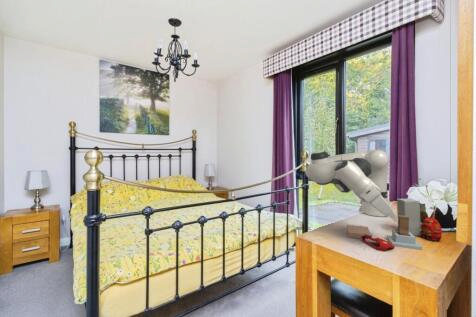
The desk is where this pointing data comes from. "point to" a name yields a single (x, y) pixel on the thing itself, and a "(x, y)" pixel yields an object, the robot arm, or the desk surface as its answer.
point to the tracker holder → (383, 243)
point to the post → (403, 225)
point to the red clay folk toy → (431, 228)
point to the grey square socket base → (403, 241)
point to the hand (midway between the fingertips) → (393, 217)
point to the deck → (357, 231)
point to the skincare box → (410, 214)
